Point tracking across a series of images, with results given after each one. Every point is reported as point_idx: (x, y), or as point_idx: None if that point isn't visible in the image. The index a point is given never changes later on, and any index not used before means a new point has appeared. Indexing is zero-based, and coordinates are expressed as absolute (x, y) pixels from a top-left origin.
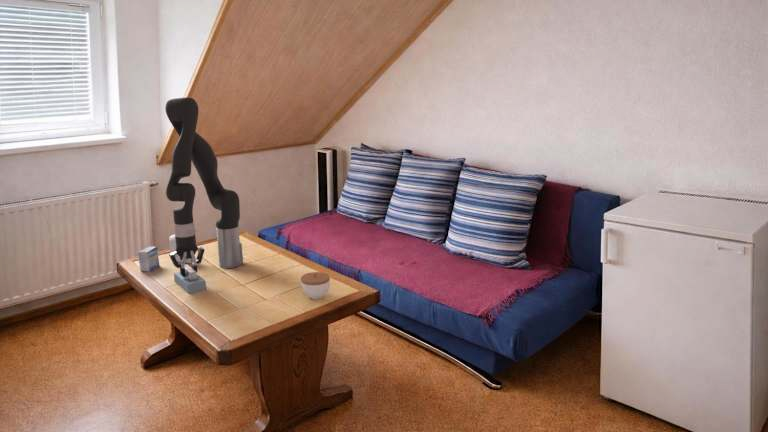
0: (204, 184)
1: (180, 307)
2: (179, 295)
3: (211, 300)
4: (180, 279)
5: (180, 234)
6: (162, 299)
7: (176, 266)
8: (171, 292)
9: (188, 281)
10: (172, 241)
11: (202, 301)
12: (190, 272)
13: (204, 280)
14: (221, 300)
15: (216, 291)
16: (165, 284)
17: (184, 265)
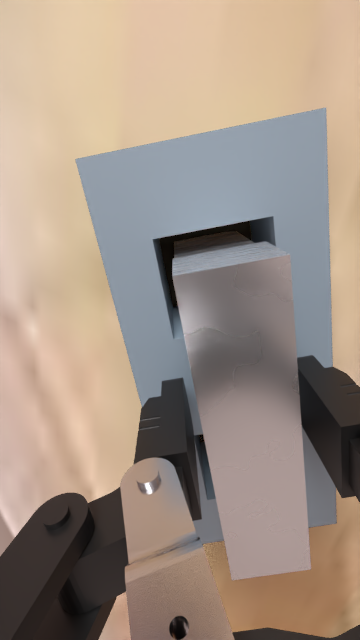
0: None
1: (107, 621)
2: (115, 489)
3: (277, 604)
4: (139, 388)
5: None
6: (2, 505)
7: (64, 608)
8: (63, 423)
9: (200, 488)
10: None
11: (230, 600)
12: (243, 575)
13: (331, 515)
14: (323, 618)
15: (349, 516)
16: (8, 223)
17: (233, 301)
